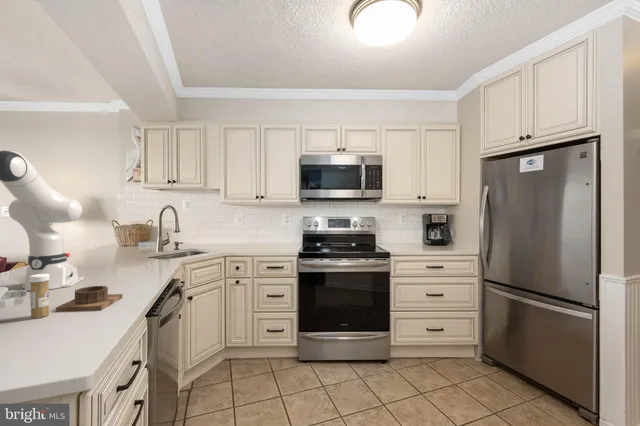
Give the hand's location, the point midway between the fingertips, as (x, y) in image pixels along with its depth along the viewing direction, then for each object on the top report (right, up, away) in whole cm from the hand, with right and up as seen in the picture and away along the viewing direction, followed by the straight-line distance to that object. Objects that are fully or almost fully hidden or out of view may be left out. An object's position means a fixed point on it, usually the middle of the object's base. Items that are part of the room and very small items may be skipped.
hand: (24, 296), depth 95 cm
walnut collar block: (+10, -7, +14) cm, 19 cm away
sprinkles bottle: (+3, -7, +2) cm, 8 cm away
